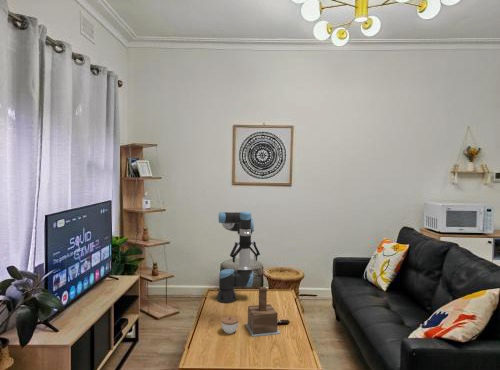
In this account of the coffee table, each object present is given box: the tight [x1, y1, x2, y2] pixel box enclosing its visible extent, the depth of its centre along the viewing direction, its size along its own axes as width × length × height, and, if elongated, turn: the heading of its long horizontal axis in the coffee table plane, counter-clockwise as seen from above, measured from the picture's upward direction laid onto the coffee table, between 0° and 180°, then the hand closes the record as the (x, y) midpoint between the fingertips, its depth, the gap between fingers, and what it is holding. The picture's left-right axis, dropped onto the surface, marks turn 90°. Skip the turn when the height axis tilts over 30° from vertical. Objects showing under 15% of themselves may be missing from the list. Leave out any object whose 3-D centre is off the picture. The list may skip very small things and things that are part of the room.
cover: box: [247, 286, 279, 335], centre depth 228 cm, size 15×15×26 cm
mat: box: [244, 322, 281, 338], centre depth 229 cm, size 18×18×1 cm
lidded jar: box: [220, 315, 239, 334], centre depth 224 cm, size 11×11×9 cm
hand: (244, 266), depth 239 cm, fingers open, 13 cm apart
